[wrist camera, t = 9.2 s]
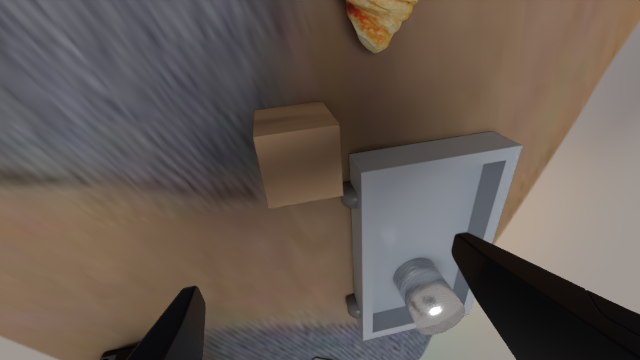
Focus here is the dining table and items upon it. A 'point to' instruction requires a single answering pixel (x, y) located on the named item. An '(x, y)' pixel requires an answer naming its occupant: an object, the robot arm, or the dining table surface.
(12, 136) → the dining table surface
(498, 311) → the robot arm
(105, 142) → the dining table surface
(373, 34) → the croissant
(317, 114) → the walnut block
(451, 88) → the dining table surface
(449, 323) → the cylinder
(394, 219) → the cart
